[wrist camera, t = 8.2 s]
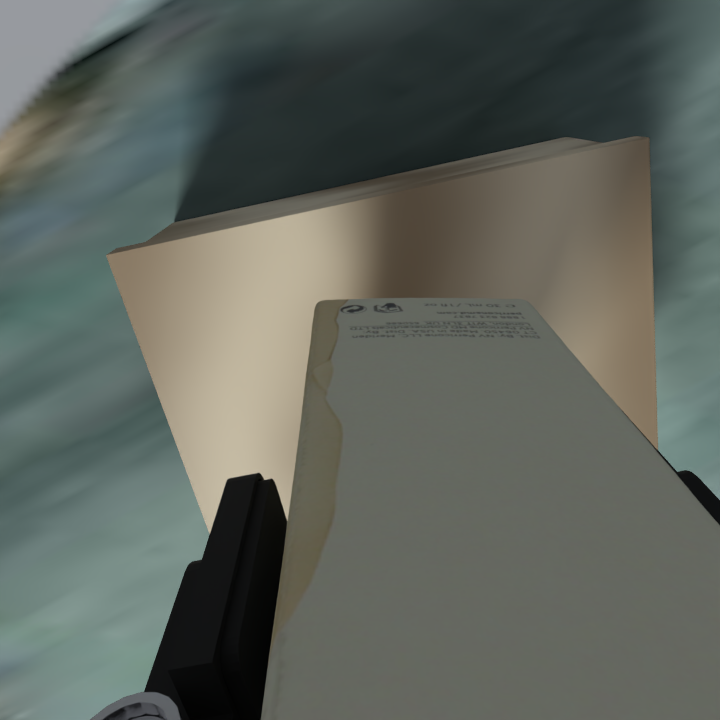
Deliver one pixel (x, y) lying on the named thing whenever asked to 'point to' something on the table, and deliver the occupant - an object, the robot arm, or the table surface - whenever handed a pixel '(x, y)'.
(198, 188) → the table surface
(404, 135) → the table surface
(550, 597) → the skincare box
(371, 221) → the birch trinket box
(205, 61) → the table surface
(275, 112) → the table surface
